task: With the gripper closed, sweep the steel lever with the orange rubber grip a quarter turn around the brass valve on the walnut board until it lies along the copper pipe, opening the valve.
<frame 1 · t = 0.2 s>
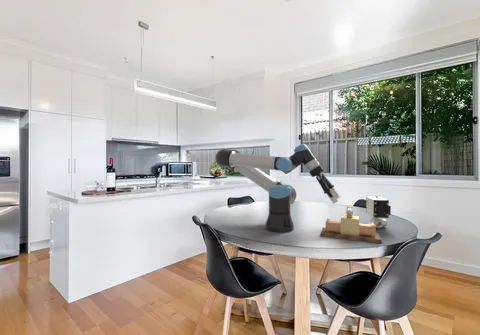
hand: (337, 200, 135), 15 cm above the table, tool tilted 35°, fingers open, 13 cm apart
pipe board: (349, 236, 121), on the table
ball valve: (377, 227, 138), on the table
lever: (349, 210, 125), point 12 cm above the table, hinge at 90.0°
valve body: (349, 224, 120), point 6 cm above the table
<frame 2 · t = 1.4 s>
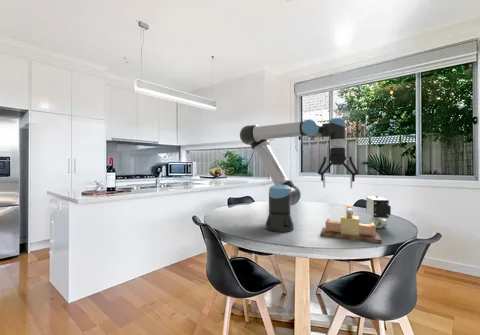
hand: (337, 187, 131), 23 cm above the table, tool pointing down, fingers open, 13 cm apart
nothing on the table moved.
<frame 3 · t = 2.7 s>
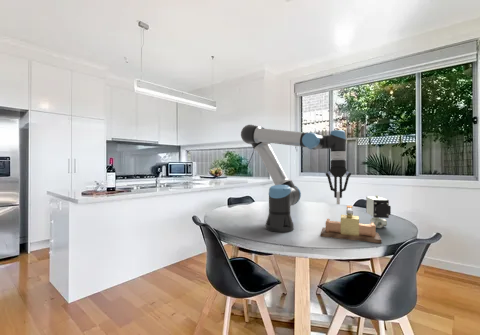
hand: (338, 203, 131), 14 cm above the table, tool pointing down, fingers closed
nothing on the table moved.
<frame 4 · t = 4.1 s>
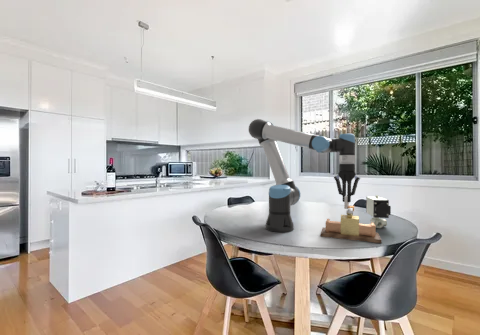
hand: (346, 208, 129), 12 cm above the table, tool pointing down, fingers closed
lever: (350, 210, 125), point 12 cm above the table, hinge at 84.7°, touching gripper
everything else where it was.
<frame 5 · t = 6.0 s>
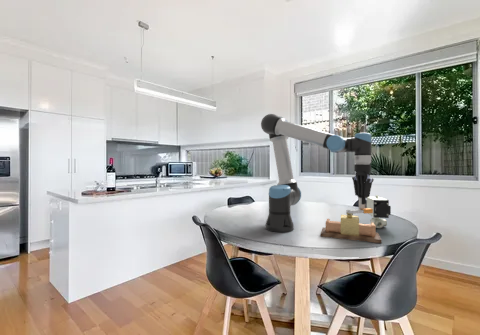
hand: (361, 210, 125), 12 cm above the table, tool pointing down, fingers closed
lever: (359, 211, 122), point 12 cm above the table, hinge at 38.6°, touching gripper
everything else where it was.
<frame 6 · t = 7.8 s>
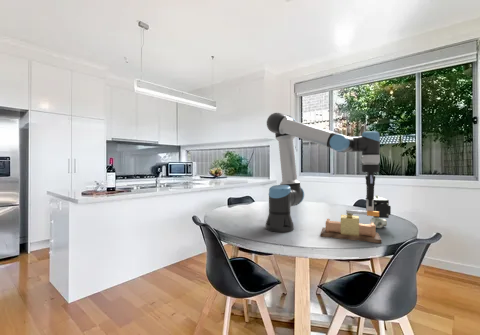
hand: (369, 212, 119), 12 cm above the table, tool pointing down, fingers closed
lever: (362, 212, 118), point 12 cm above the table, hinge at 0.3°, touching gripper
everything else where it was.
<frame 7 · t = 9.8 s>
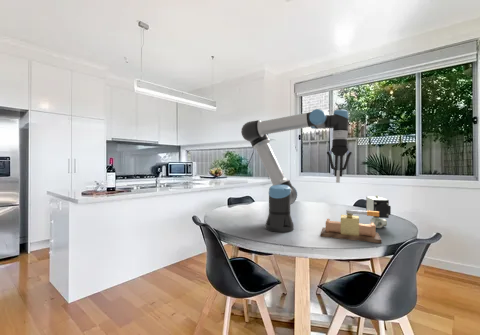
hand: (337, 182, 134), 25 cm above the table, tool pointing down, fingers closed
lever: (362, 212, 118), point 12 cm above the table, hinge at 0.2°
everything else where it was.
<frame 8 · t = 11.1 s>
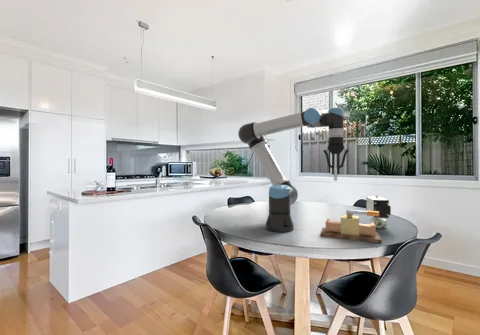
hand: (335, 180, 134), 26 cm above the table, tool pointing down, fingers closed
nothing on the table moved.
at the end: lever at +0° (first picture: +90°); ball valve moved 0.2 cm from its start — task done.
